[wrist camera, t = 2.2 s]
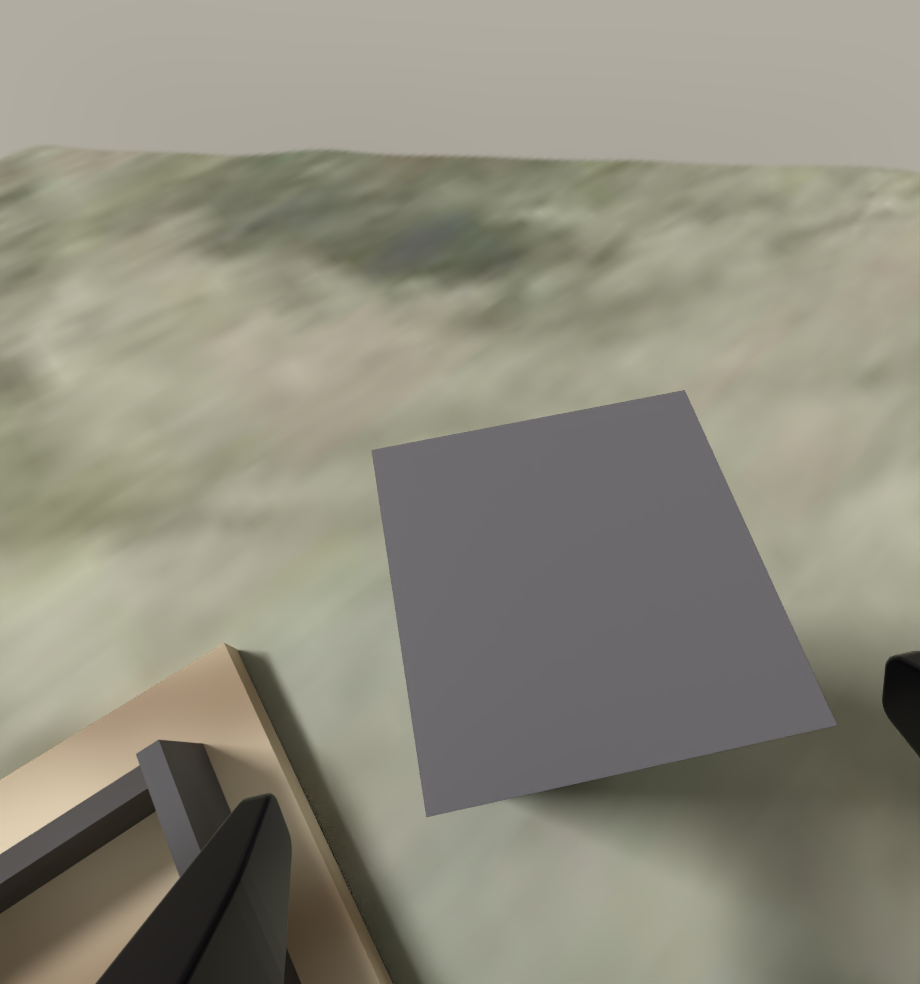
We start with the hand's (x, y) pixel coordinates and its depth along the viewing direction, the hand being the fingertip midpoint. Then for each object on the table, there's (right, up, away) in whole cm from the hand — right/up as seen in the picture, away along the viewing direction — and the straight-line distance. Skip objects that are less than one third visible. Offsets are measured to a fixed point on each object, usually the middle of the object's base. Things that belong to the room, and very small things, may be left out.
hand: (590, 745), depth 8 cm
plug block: (0, -3, +10) cm, 10 cm away
